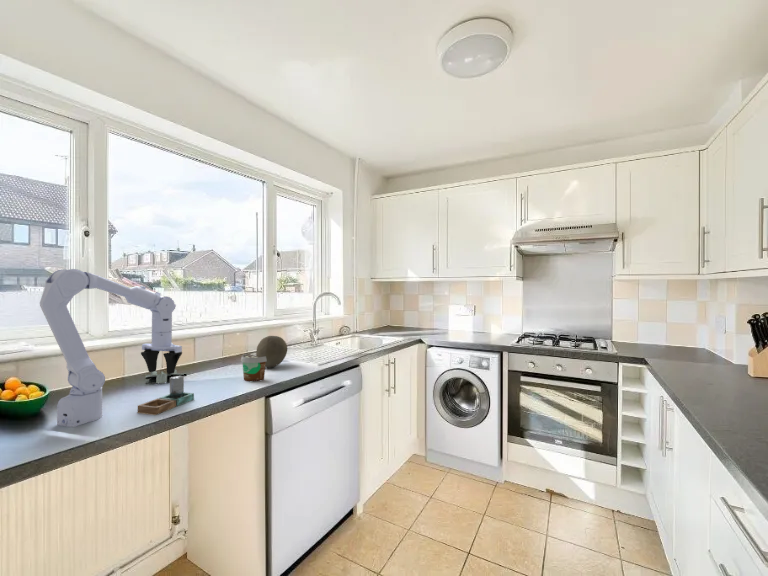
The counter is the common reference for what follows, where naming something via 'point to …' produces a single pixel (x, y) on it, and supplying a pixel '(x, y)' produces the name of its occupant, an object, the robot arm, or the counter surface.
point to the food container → (253, 367)
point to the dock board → (163, 404)
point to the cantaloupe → (272, 350)
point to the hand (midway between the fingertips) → (161, 372)
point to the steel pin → (176, 387)
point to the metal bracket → (162, 376)
